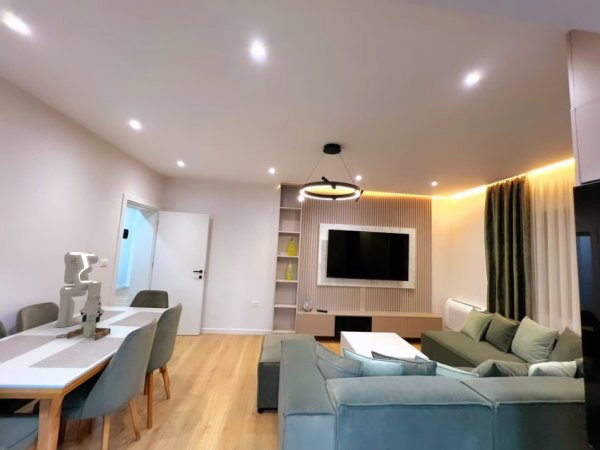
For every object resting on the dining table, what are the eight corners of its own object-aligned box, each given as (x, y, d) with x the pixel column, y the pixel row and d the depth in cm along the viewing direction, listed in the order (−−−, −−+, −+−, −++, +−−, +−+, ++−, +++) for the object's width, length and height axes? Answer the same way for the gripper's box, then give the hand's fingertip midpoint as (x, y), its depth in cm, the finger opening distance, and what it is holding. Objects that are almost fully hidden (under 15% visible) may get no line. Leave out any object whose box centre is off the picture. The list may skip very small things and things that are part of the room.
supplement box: (80, 329, 214) (82, 313, 216) (90, 327, 221) (92, 311, 222) (86, 331, 212) (88, 314, 213) (96, 328, 218) (98, 312, 220)
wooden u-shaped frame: (83, 332, 209) (84, 326, 209) (110, 333, 209) (110, 328, 209) (66, 338, 194) (67, 332, 194) (95, 340, 194) (96, 334, 194)
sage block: (87, 335, 203) (89, 322, 204) (94, 335, 203) (96, 323, 204) (82, 337, 198) (84, 324, 199) (89, 337, 198) (91, 324, 199)
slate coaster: (62, 334, 202) (62, 333, 202) (73, 335, 202) (73, 334, 202) (52, 337, 194) (52, 337, 194) (64, 338, 194) (64, 337, 194)
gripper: (108, 297, 207) (106, 321, 205) (85, 296, 207) (82, 320, 205) (101, 299, 199) (99, 323, 198) (77, 298, 199) (74, 322, 197)
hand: (90, 322), depth 201 cm, fingers open, 9 cm apart
